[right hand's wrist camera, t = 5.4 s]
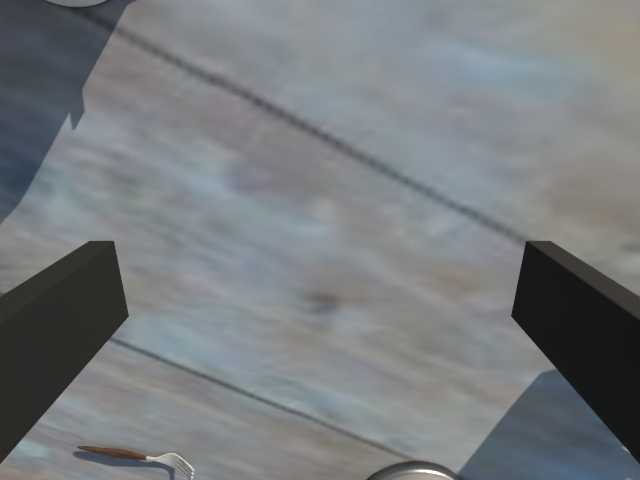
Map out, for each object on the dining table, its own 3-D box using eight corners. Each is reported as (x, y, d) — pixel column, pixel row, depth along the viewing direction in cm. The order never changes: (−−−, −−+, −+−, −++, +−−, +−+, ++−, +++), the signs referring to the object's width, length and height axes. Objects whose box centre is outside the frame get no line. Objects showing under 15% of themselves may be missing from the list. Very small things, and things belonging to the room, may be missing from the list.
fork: (80, 436, 52) (71, 449, 50) (198, 456, 53) (194, 469, 51) (79, 450, 52) (70, 463, 51) (196, 470, 54) (192, 483, 52)
